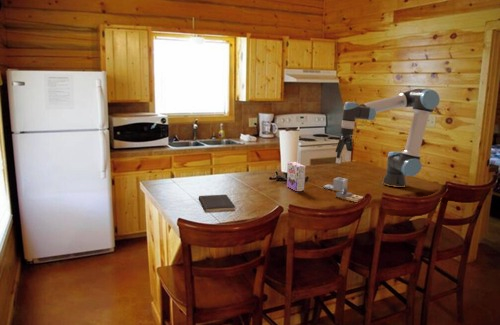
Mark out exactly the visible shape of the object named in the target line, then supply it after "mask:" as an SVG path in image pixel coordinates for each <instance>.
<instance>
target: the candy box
mask: <svg viewBox="0 0 500 325" xmlns="http://www.w3.org/2000/svg"><path fill="white" fill-rule="evenodd" d="M286 172H287V173H286V174H287V176H286V187H287V188H288V187H289V188H288V189H290V188H291V189H293V190H295V191H302V190H304V191H305V183H306V165H303V164H302V163H300V162H297V161H289V162H287V171H286ZM291 189H290V190H291ZM293 190H292V191H293ZM295 191H294V192H295Z"/></svg>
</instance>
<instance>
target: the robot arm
mask: <svg viewBox="0 0 500 325" xmlns="http://www.w3.org/2000/svg"><path fill="white" fill-rule="evenodd" d="M439 95H440V94H439V93H438V92H437V91H436V90H434V89H429V88H414V89H409V90H408V91H407V90H406V91H404V92H401V93H400V92H399V94H398V95H394V96H390V97H389V96H388V97H385V98H381V99H378V100H373V101H369V102H366V103H362V104H358V103H357V102H355V101H354V102H352V101H346V102H345V103H344V106H343V111H342V121H341V122H340V123H341V124H340V126H341V127H340V134H341V135H340V136H339V140H338V142H337V145H336V149H335V153H336V158H335V164H341V162H342V161H341V160H342V156H343V153H342V152H343V149H344V148H345V147H346V150H345V156H344V162H350V159H351V158H350V157H351V152H353V135H354V128H355V125H356V124H355V123H356V119H357V120H367V121H373V120H374V119H375V118H376V115H377V113H381V112H385V111H388V110H389V111H390V110H393V109H397V108H402V109H403V108H404V109H405V108H412V111H413V116H412V121H411V124H410V128H409V131H408V134H407V135H408V136H407V140H406V144H405V147H404V150H402V151H389V152H388V154H387V162H386V173H385V176H384V177H383V180H382V184H383V183H386V184H389V185H396V186H404V185H406V184H407V183H408V182H407V178H406V176H407V177H415V176H416V175H418V174H419V173H420V172H421V170H422V167H423V165H422V162H421V161H420V160H421V157H422V156H421V154H420V150H421V147H422V143H423V140H424V139H423V138H424V135H425V132H426V128H427V125H428V121H429V117H430V115H433V112H434V109H436V108H437V107H438V106H439V105H440V100H441V99H440V96H439ZM406 186H407V185H406Z"/></svg>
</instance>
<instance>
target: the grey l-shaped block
mask: <svg viewBox="0 0 500 325" xmlns="http://www.w3.org/2000/svg"><path fill="white" fill-rule="evenodd" d="M344 179H346V180H347V185H348V183H349V182H348V180H349V179H348V178H343V177H336V178H333V180H332V181H333V183H332V184H330V183H329V184H325V185H323V187H324V188H328V189H333V190H337V191H342V190H343V180H344ZM323 187H322V188H323Z"/></svg>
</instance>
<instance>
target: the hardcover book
mask: <svg viewBox="0 0 500 325" xmlns="http://www.w3.org/2000/svg"><path fill="white" fill-rule="evenodd" d="M198 201H199V203H200V204H201V206H202V209H203V210H204V212H218V211H219V212H221V211H235V208H236V206H235V204H234V203H233V202H232V200H231V198H230V197H229V196H228V195H227V194H211V195H209V194H208V195H207V194H206V195H199V196H198Z"/></svg>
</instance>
